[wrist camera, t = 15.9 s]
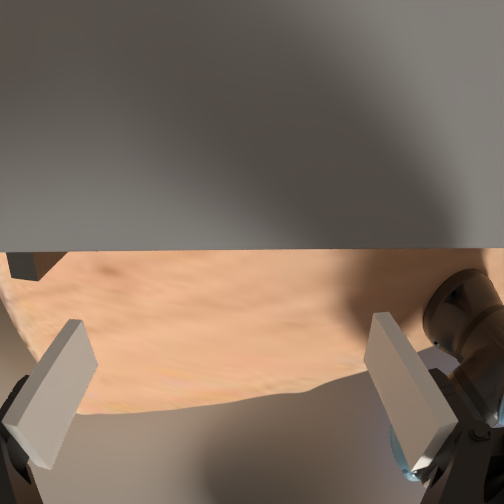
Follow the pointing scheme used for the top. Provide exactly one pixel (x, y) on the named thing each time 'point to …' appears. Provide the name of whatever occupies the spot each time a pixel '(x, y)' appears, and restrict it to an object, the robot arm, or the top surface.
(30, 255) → the grey l-shaped bracket
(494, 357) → the robot arm
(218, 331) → the top surface
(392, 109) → the cabinet
